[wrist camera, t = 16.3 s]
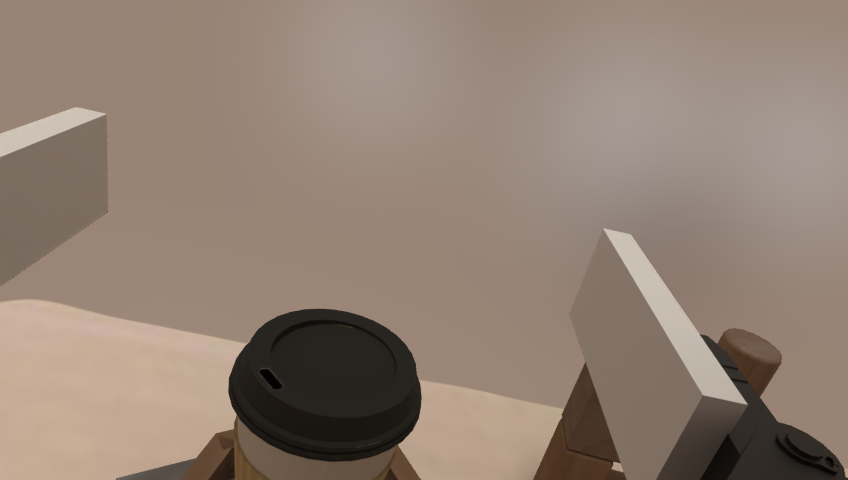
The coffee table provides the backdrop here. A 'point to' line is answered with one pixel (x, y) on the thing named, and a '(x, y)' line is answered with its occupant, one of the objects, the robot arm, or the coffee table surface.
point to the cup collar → (215, 465)
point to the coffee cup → (322, 398)
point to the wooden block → (587, 428)
